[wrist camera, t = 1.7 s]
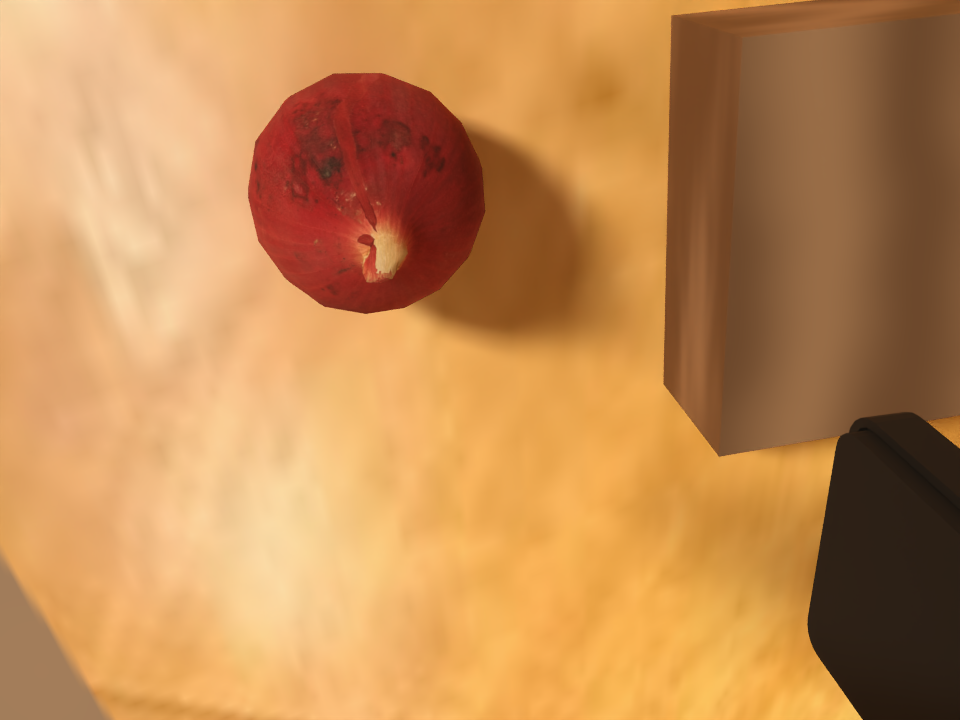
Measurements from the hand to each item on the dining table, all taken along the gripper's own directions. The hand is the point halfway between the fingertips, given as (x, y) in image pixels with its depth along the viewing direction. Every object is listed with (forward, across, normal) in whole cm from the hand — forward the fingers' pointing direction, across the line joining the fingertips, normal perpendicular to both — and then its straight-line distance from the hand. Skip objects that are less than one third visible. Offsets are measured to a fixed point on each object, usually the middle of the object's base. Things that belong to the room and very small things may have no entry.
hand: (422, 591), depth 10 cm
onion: (+19, -1, 0) cm, 19 cm away
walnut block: (+19, -16, +2) cm, 25 cm away
